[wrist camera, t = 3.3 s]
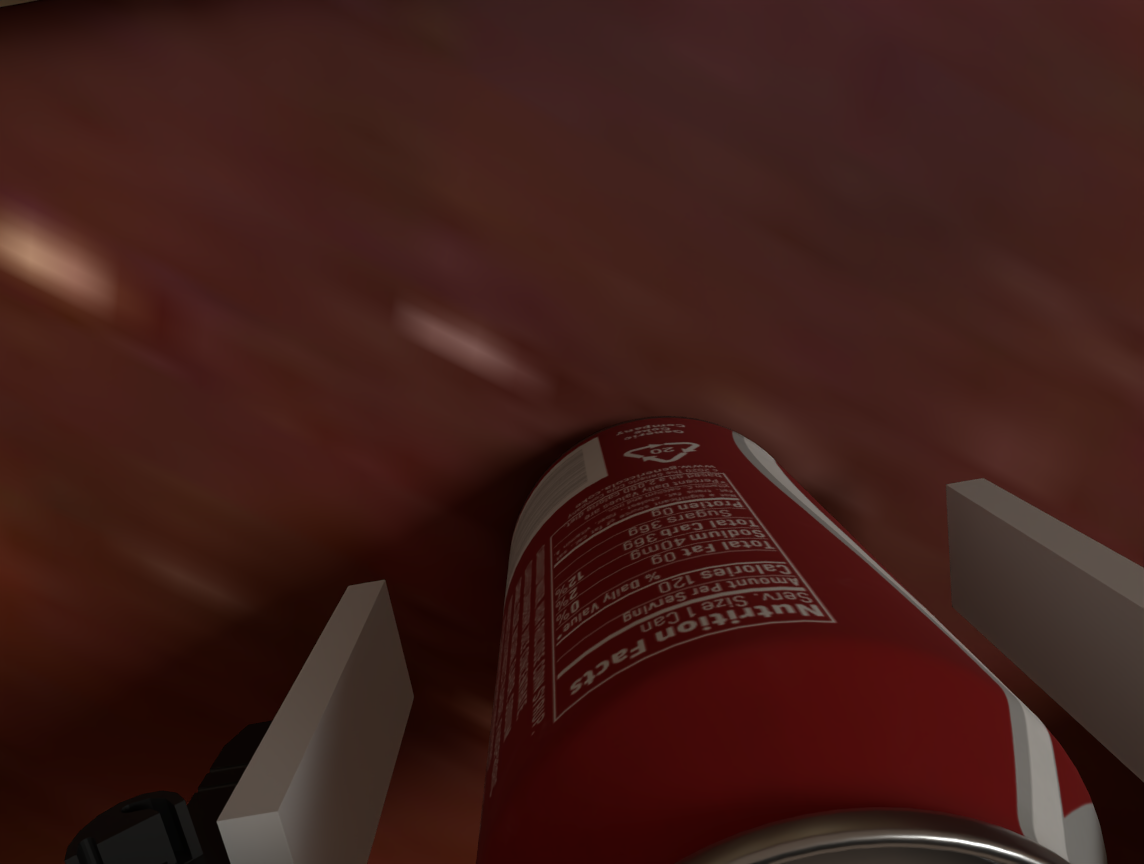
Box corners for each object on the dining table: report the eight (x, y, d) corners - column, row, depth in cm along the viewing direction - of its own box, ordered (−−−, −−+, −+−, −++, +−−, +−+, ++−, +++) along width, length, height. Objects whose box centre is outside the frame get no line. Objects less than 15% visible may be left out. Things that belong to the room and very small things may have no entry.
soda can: (450, 552, 18) (277, 1132, 6) (663, 345, 17) (921, 584, 5) (650, 730, 19) (811, 1478, 8) (860, 548, 18) (1405, 1092, 7)
